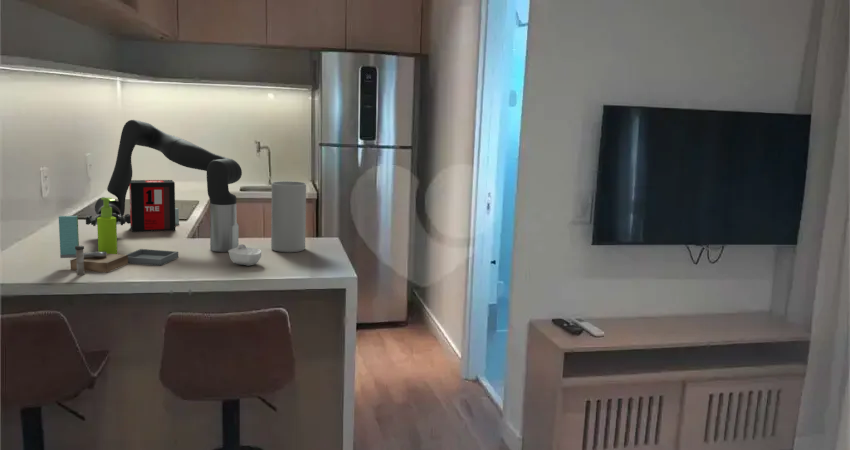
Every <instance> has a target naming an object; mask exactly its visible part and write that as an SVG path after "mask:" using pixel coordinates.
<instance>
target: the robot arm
mask: <svg viewBox="0 0 850 450" xmlns="http://www.w3.org/2000/svg"><path fill="white" fill-rule="evenodd" d="M136 146H141V147H145V148H150V149H153V150H155V151H158V152H160V153H162V154H163V156H164V157H165V158H166V159H167V160H169V161H170V162H171V161H172V162H173V163H176V164H178V165H179V166H182V167H185V168H189V169H194V170H198V171H204V172H206V189H207V190H206V191H207V195H208V198H209V220H210V221H209V227H210V228H209V240H210V241H209V246H210V251H213V252H220V253H225V252H228V250H230V249H234V248H237V246H239V223H237V196H236V195H235V194H234V193H232V192H230V190H229V185H232V184H234V183H237V182H238V181H239V180H240V179H241V178H242V175H243V172H242V171H243V170H242V167H241V166H240V164H239V163H238V161H236V160H234V159H233V158H229V157H225V156H222V155H219V154H216V153H213V152H212V151H209V150H207V149H205V148H203V147H201V146H199V145H196V144H194V143H193V142H190V141H188V140H185V139H184V138H181V137H178V136H175V135H172V134H168V133H166V132H164V131H163V130H161V129H160V128H158V127H156V126H155V125H153V124H151V123H149V122H146V121H141V120H136V119H130V120H127V121H126V122H125V123H124V125H123V127H122V131H121V133H120V139H119V145H118V150H117V154H116V155H117V156H116V161H115V165H114V168H113V172H112V175H111V177H110V179H109V182H108V184H107V188H106V191H108V193H109V194H112V195H113V196H115V197H116V198H117V200H115V201H111V202H110V201H109V206H110V207H112V216H113V217H116V226H117V225H120V226H123V225H125V224H128V225H130V223H131V220H130V218H131V216H130V213H126V214H125V210H126V197H127V192H128V191H129V185H130V182H131V180H132V179H133V163H132V154H133V150H134V149H135V147H136ZM101 198H106V197H105V196H102V197H100V198H98V199H97V200H96V202H95V204H94V211H95V214H96V215H95V216H93V215H91V214H87V215H85V225H88V226H89V225H91V226H93V227H97V226H96V225H97V218H98V217H101V207H103V206H104V205H103V200H101ZM228 253H229V252H228Z"/></svg>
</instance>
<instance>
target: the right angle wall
mask: <svg viewBox="0 0 850 450" xmlns="http://www.w3.org/2000/svg"><path fill="white" fill-rule="evenodd" d="M179 209H180V208H176V207H175V226H176V225H180V210H179Z"/></svg>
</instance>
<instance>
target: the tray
mask: <svg viewBox="0 0 850 450" xmlns="http://www.w3.org/2000/svg"><path fill="white" fill-rule="evenodd" d="M125 255H128V264H129V265H130V264H131V265H132V264H133V265H143V266H144V265H146V266H159V267H160V266H163V265H165V264H168V263H169V262H172V261H174V260H176V259H178V258H179V251H178V250H177V251H176V250H175V251H173V250H162V249H161V250H159V249H147V248H140V249H137V250H135V251H132V252H129V253H126V254H125Z"/></svg>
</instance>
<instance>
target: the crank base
mask: <svg viewBox="0 0 850 450" xmlns="http://www.w3.org/2000/svg"><path fill="white" fill-rule="evenodd" d="M75 249H76V258H72V259H71V260H70V261H69V262H70V270H71V271H76V275H77V276H85V272H97V273H110V272H112V271H114V270H116V269H119V268H122V267H124V266H127V265H129V263H128V255H126V254H120V253H119V254H118V253H117V254H107V257H104V258H93V257H86V258H84V253H85V252H84V249H85V245H79V246H75Z"/></svg>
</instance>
